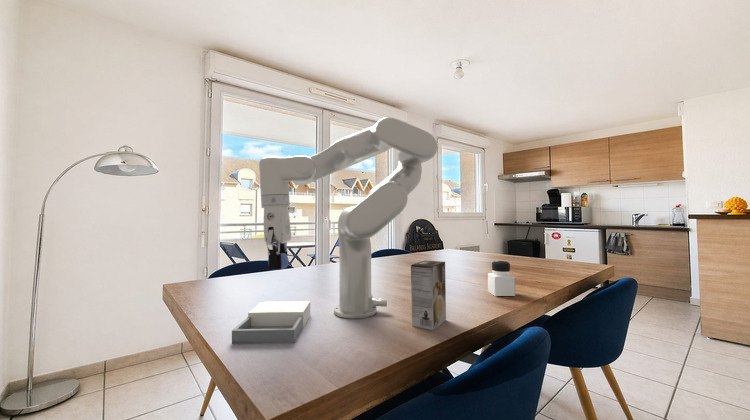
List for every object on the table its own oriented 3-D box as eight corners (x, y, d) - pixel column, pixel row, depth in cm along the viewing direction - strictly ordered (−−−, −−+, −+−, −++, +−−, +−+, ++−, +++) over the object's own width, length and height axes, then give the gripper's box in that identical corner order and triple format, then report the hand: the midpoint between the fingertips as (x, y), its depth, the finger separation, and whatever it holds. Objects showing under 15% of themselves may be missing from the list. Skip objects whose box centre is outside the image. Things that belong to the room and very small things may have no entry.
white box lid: (310, 314, 88) (310, 301, 88) (303, 327, 78) (303, 311, 78) (261, 315, 88) (261, 301, 88) (248, 328, 78) (248, 312, 78)
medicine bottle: (515, 297, 106) (515, 262, 107) (495, 297, 107) (494, 262, 107) (507, 292, 114) (506, 259, 114) (487, 292, 114) (487, 259, 114)
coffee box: (424, 316, 87) (424, 259, 87) (446, 320, 83) (446, 261, 84) (410, 326, 79) (410, 264, 79) (434, 331, 76) (433, 266, 76)
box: (303, 327, 78) (303, 316, 78) (294, 343, 69) (294, 329, 69) (247, 328, 78) (247, 316, 78) (231, 344, 68) (231, 330, 68)
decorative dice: (289, 267, 85) (288, 253, 85) (276, 270, 82) (275, 255, 82) (280, 266, 87) (280, 252, 87) (268, 269, 84) (267, 254, 84)
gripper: (280, 200, 76) (283, 272, 76) (296, 202, 93) (299, 261, 93) (249, 202, 76) (253, 274, 76) (271, 203, 93) (274, 262, 93)
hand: (278, 266), depth 85 cm, fingers closed on decorative dice, 5 cm apart
